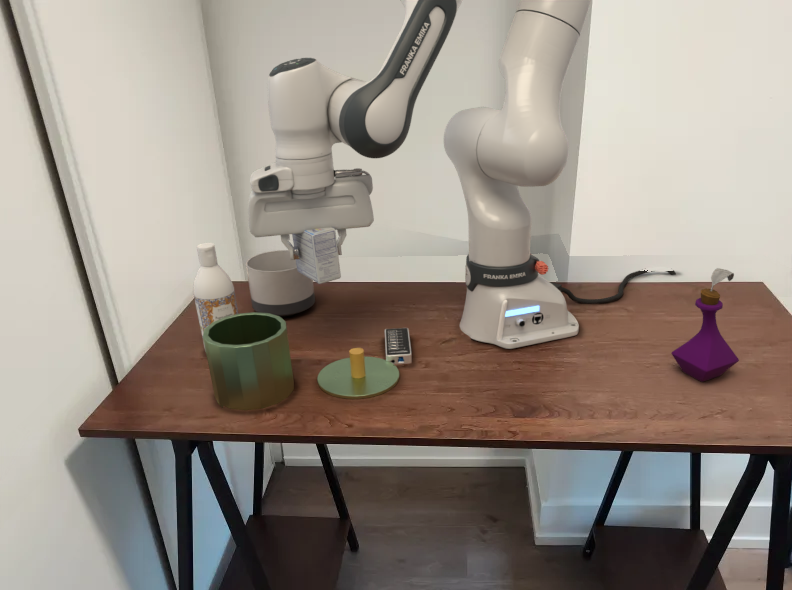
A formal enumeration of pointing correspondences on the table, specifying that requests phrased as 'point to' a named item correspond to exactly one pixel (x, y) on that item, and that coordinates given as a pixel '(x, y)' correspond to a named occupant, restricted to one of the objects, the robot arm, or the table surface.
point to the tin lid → (358, 376)
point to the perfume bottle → (707, 338)
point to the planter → (278, 284)
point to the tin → (249, 360)
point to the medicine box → (318, 254)
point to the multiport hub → (398, 346)
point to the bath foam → (212, 289)
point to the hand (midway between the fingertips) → (316, 256)
